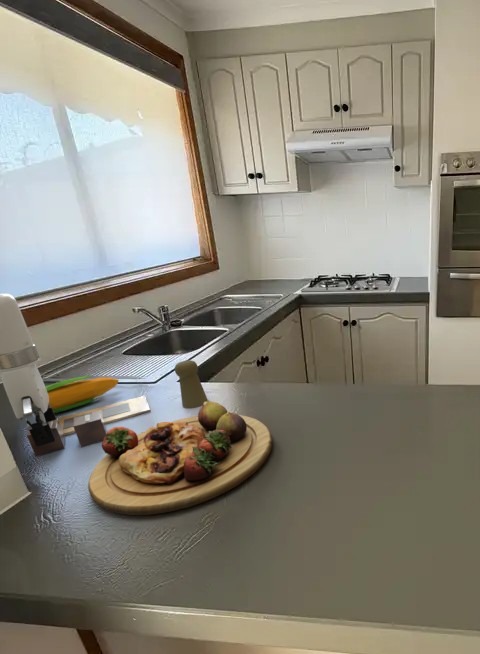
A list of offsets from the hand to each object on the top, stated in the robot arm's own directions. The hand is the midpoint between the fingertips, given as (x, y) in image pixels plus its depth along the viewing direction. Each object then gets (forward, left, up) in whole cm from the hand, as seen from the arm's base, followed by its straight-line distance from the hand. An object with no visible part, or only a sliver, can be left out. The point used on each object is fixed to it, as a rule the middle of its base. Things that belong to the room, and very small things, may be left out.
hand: (47, 434), depth 89 cm
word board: (+10, +10, -3) cm, 14 cm away
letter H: (0, 0, -3) cm, 3 cm away
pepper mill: (+30, +2, -3) cm, 30 cm away
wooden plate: (+23, -26, -3) cm, 34 cm away
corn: (+5, +23, -3) cm, 24 cm away
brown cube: (+8, -2, -3) cm, 8 cm away
